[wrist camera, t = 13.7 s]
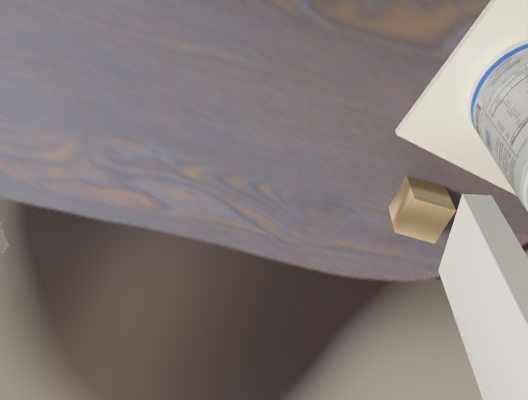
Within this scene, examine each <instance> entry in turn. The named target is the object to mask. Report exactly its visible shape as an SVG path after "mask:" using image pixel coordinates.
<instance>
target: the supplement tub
mask: <svg viewBox="0 0 528 400" xmlns="http://www.w3.org/2000/svg"><path fill="white" fill-rule="evenodd" d="M468 109H469V116H470V120H471V122H472V125H473V127H474V128H475V130H476V132H477V133H478V135H479V137H480V138H481V140H482V142H483V143H484V145H485V146H486V148H487V149H488V151H489V153H490V154H491V156H492V157H493V159H494V161H495V162H496V164H497V165H498V167H499V168H500V170H501V172H502V173H503V175H504V176H505V178H506V179H507V181H508V183H509V184H510V186H511V187H512V189H513V190H514V192H515V193H516V195H517V196H518V198H519V200H520V201H521V203H522V204H523V206H524V207H525V209H526V210H527V212H528V39H527V40H523V41H521V42H518V43H516V44H513V45H511V46H510V47H508V48H506V49H504V50H503V51H501V52H500V53H498V54H497V55H496V56H495V57H493V58H492V59H491V60H490V61H489V62H488V63H487V64H486V65H485V66H484V68H483V69H482V70H481V72H480V73H479V75H478V76H477V78H476V80H475V81H474V84H473V86H472V89H471V92H470V96H469V103H468Z"/></svg>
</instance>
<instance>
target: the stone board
mask: <svg viewBox="0 0 528 400" xmlns="http://www.w3.org/2000/svg"><path fill="white" fill-rule="evenodd" d="M527 39H528V0H491V1H490V2H489V3H488V5H487V6H486V7H485V9H484V10H483V12H482V13H481V14H480V16H479V17H478V18H477V20H476V21H475V22H474V24H473V25H472V26H471V28H470V29H469V31H468V32H467V33H466V35H465V36H464V37H463V39H462V40H461V41H460V43H459V44H458V46H457V47H456V48H455V50H454V51H453V52H452V54H451V55H450V56H449V58H448V59H447V60H446V62H445V63H444V65H443V66H442V67H441V69H440V70H439V71H438V73H437V74H436V75H435V77H434V78H433V80H432V81H431V82H430V84H429V85H428V86H427V88H426V89H425V90H424V92H423V93H422V94H421V96H420V97H419V99H418V100H417V101H416V103H415V104H414V105H413V107H412V108H411V109H410V111H409V112H408V114H407V115H406V116H405V118H404V119H403V120H402V122H401V123H400V124H399V126H398V127H397V129H396V130H395V132H396V135H398V136H400V137H402V138H404V139H406V140H408V141H410V142H412V143H414V144H416V145H418V146H420V147H422V148H424V149H426V150H428V151H430V152H432V153H434V154H436V155H438V156H439V157H441V158H443V159H445V160H447V161H449V162H451V163H453V164H455V165H457V166H459V167H461V168H463V169H465V170H467V171H469V172H471V173H473V174H475V175H477V176H479V177H481V178H483V179H485V180H487V181H489V182H491V183H493V184H495V185H497V186H499V187H501V188H503V189H505V190H507V191H509V192H511V193H513V194H515V195H516V193H515V192H514V190H513V189H512V187H511V186H510V184H509V183H508V181H507V179H506V178H505V176H504V175H503V173H502V172H501V170H500V168H499V167H498V165H497V164H496V162H495V161H494V159H493V157H492V156H491V154H490V153H489V151H488V149H487V148H486V146H485V145H484V143H483V142H482V140H481V138H480V137H479V135H478V133H477V132H476V130H475V128H474V127H473V125H472V122H471V120H470V116H469V109H468V103H469V96H470V92H471V89H472V86H473V84H474V81H475V80H476V78H477V76H478V75H479V73H480V72H481V70H482V69H483V68H484V66H485V65H486V64H487V63H488V62H489V61H490V60H491V59H492V58H493V57H495V56H496V55H497V54H498V53H500V52H501V51H503V50H504V49H506V48H508V47H510V46H511V45H513V44H516V43H518V42H521V41H523V40H527Z"/></svg>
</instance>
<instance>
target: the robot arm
mask: <svg viewBox="0 0 528 400" xmlns="http://www.w3.org/2000/svg"><path fill="white" fill-rule="evenodd" d="M8 246H9V245H8V242H7V240H6V237H5V234H4V231H3V229H2V226H1V223H0V256H1V255H2V254H3V252H4V251H5V249H6V248H7V247H8ZM439 273H440V276H441V279H442V282H443V285H444V288H445V291H446V294H447V297H448V299H449V302H450V305H451V308H452V311H453V314H454V317H455V320H456V323H457V325H458V329H459V331H460V334H461V337H462V340H463V343H464V346H465V349H466V352H467V355H468V357H469V360H470V363H471V366H472V369H473V372H474V375H475V378H476V381H477V384H478V387H479V389H480V392H481V395H482V398H483V400H528V257H527V255H526V254H525V252H524V250H523V248H522V247H521V245H520V243H519V242H518V240H517V238H516V236H515V235H514V233H513V231H512V230H511V228H510V226H509V224H508V223H507V221H506V219H505V218H504V216H503V214H502V213H501V211H500V209H499V207H498V206H497V204H496V202H495V201H494V199H493V197H492V195H474V194H462V196H461V200H460V203H459V206H458V209H457V212H456V216H455V219H454V222H453V225H452V228H451V232H450V235H449V238H448V241H447V245H446V248H445V251H444V254H443V257H442V261H441V264H440V267H439Z"/></svg>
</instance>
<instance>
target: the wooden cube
mask: <svg viewBox="0 0 528 400" xmlns="http://www.w3.org/2000/svg"><path fill="white" fill-rule="evenodd" d="M389 211H390V215H391V219H392V223H393V227H394V231H395V233H398V234H402V235H406V236H409V237H413V238H416V239H420V240H424V241H427V242H431V243H435V242H436V241H437V239H438V238H439V236H440V235H441V233H442V232H443V230H444V229H445V227H446V226H447V224H448V222H449V221H450V219H451V218H452V216H453V215H454V213H455V212H456V209H455V207H454V205H453V203H452V200H451V198H450V196H449V194H448V192H447V189H446V187H444V186H441V185H438V184H434V183H431V182H427V181H424V180H420V179H417V178H414V177H410V176H406V177H405V179H404V181H403V183H402V185H401V186H400V188H399V190H398V192H397V194H396V195H395V197H394V199H393V201H392V203H391V205H390V206H389Z"/></svg>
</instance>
